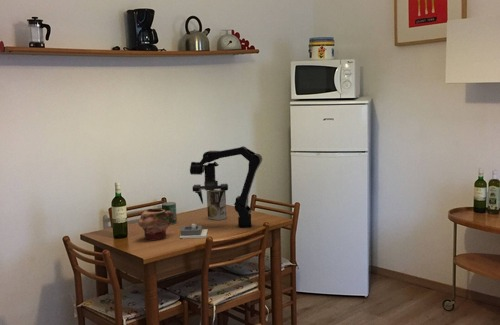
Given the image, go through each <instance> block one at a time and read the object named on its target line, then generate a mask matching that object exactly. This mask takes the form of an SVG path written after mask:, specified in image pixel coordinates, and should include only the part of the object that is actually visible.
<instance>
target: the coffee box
mask: <svg viewBox="0 0 500 325" xmlns="http://www.w3.org/2000/svg"><path fill="white" fill-rule="evenodd" d="M226 196H227V195H226V192H223V195H222V197H221V201H220V203H219V197H220V189H214V190H213V191H211V190H208V191H206V204H207V205H206V206H207V219H208V220H217V221H222V220H225V219H227V202H226V201H227V200H226Z"/></svg>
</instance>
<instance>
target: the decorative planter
mask: <svg viewBox="0 0 500 325" xmlns="http://www.w3.org/2000/svg"><path fill="white" fill-rule="evenodd" d="M168 215H170V216H171V221H170V222H169V219H168ZM173 219H174V215H173V213H172V212H170V211H167V212H166V211H165V210H162V208H148V209H146V210H145V211H143V212H142V213H141V215H140V218H139V220H138V226H139V227H141V229H142V230H143V231H144V238H145V239H147V240H151V241H152V240H153V241H154V240H155V241H156V240H157V239H158V240H163V239H165V237H166V235H167V229H168V228H169V227H170V226H171V225H172V224H171V223H172V221H173ZM162 238H163V239H162Z"/></svg>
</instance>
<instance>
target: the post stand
mask: <svg viewBox="0 0 500 325" xmlns="http://www.w3.org/2000/svg"><path fill="white" fill-rule="evenodd" d="M191 226H192V230H195V229H196V226H197V224H196V223H192V224H191ZM208 232H209V229H208V228H206V229H203V228H202V233H201V235H190V236H181V235H179V239H180V238H183V239H206V238H207V236H208Z"/></svg>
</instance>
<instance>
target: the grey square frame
mask: <svg viewBox="0 0 500 325" xmlns="http://www.w3.org/2000/svg"><path fill="white" fill-rule="evenodd" d="M202 229H203V225H200V224H199V225H196V229H195V230H192V225H182V226H181V228H180V235H181V236H190V235H201V233H202ZM180 235H179V236H180Z"/></svg>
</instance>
